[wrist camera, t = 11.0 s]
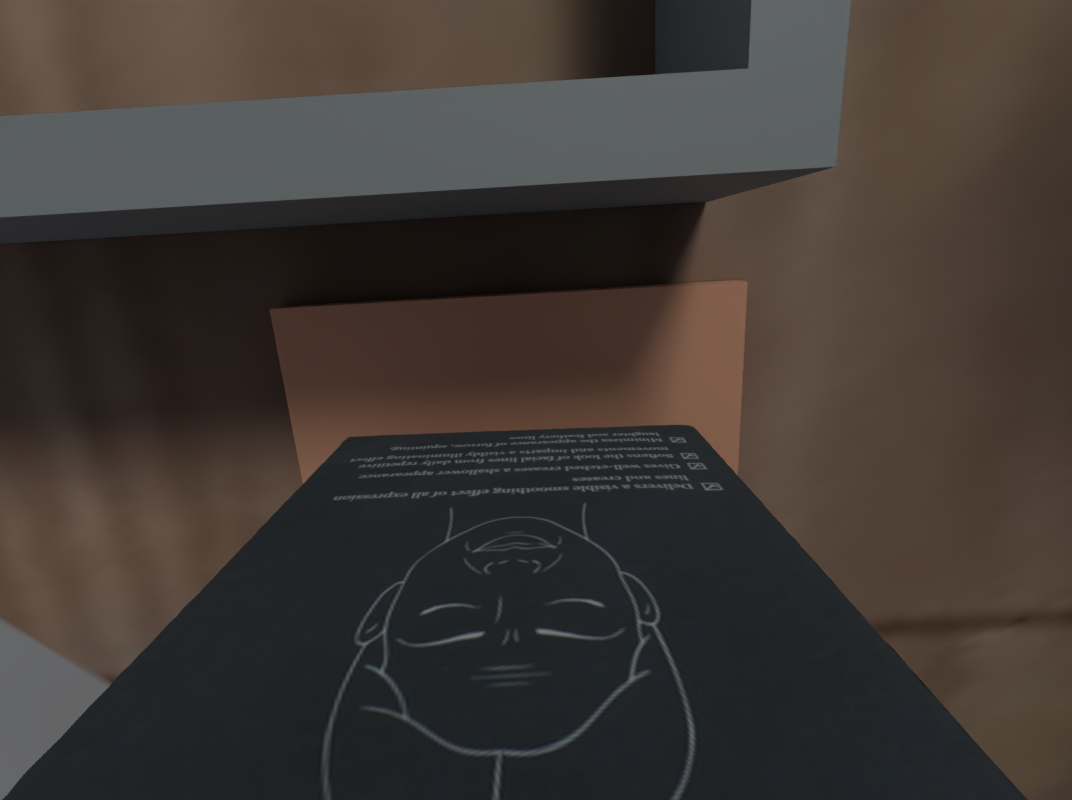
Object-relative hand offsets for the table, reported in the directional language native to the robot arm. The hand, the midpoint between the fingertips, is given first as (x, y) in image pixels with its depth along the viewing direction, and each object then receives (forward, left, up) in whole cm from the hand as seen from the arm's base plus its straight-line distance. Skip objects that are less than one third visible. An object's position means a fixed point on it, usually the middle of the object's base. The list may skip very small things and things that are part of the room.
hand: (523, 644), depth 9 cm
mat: (0, 0, -5) cm, 5 cm away
